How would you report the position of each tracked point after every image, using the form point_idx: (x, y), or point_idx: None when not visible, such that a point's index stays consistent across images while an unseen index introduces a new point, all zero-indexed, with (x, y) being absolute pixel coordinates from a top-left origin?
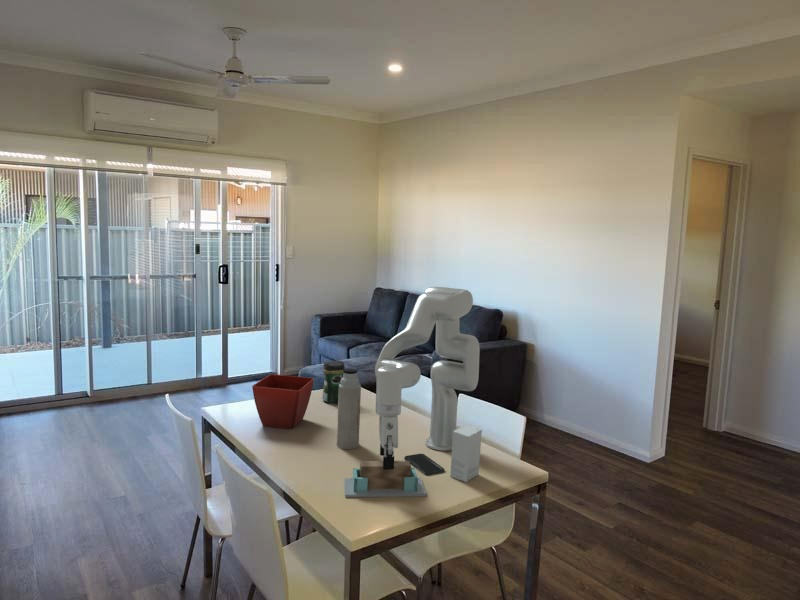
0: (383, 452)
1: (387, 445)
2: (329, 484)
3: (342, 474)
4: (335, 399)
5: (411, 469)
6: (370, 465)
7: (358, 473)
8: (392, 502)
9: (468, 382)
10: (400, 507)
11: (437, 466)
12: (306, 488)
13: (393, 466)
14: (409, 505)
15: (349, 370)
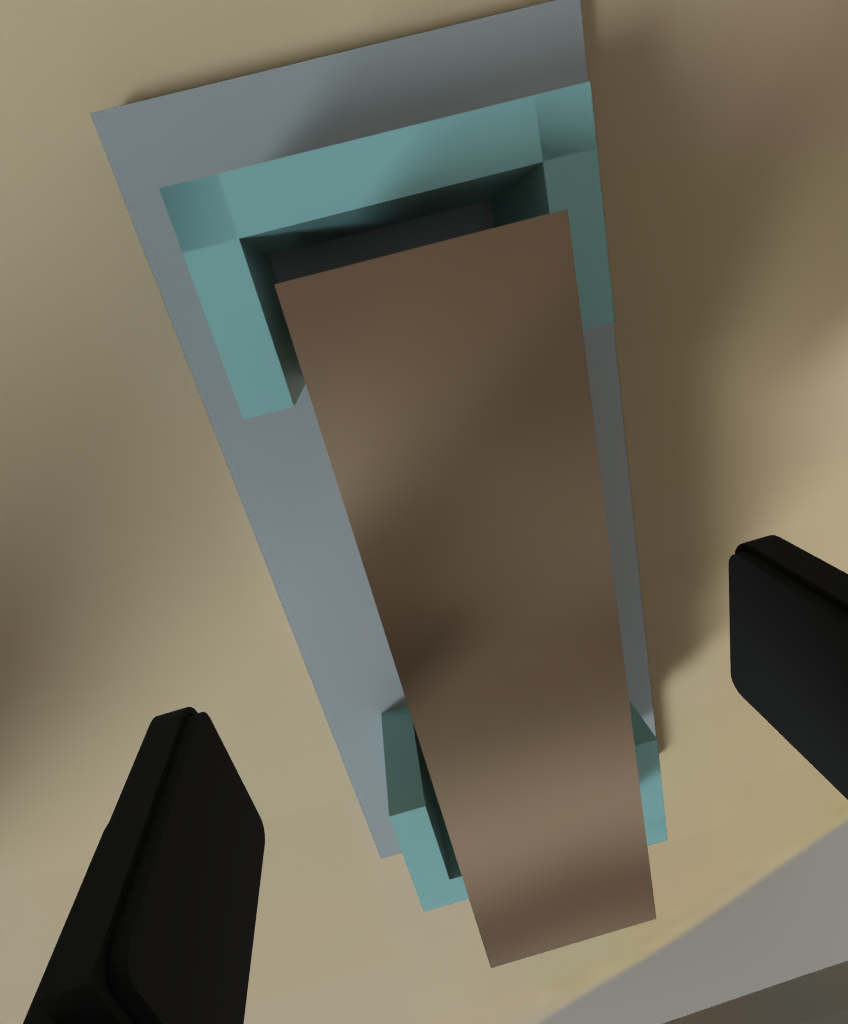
0: (238, 849)
1: (170, 967)
2: None
3: (266, 879)
4: None
5: (242, 238)
6: (612, 843)
7: (437, 826)
8: (720, 407)
9: None
10: (815, 318)
11: None
12: (543, 975)
13: (807, 560)
14: (781, 226)
15: None
